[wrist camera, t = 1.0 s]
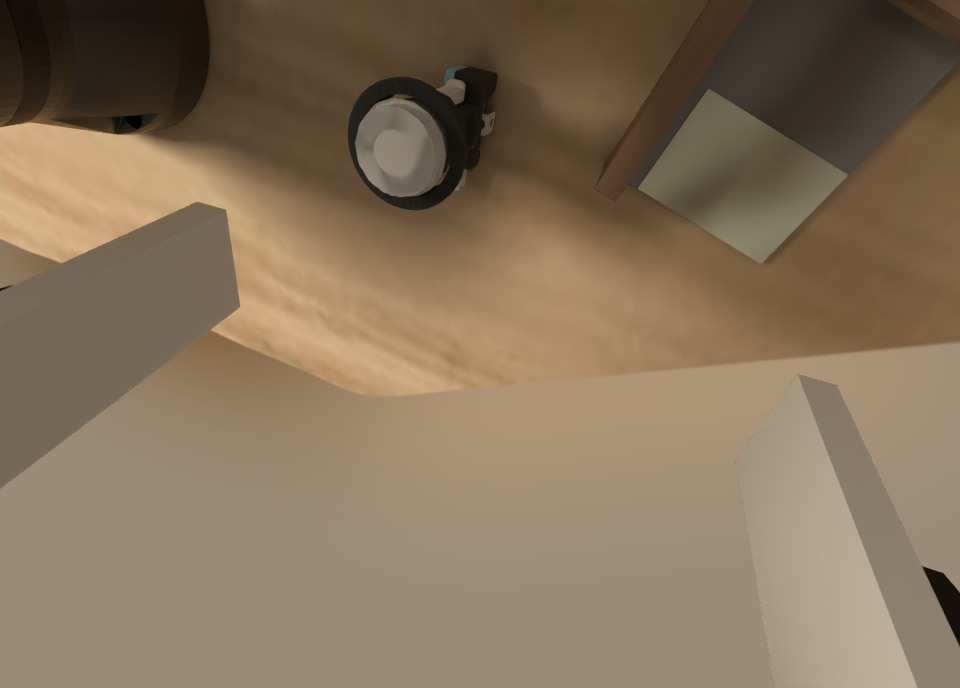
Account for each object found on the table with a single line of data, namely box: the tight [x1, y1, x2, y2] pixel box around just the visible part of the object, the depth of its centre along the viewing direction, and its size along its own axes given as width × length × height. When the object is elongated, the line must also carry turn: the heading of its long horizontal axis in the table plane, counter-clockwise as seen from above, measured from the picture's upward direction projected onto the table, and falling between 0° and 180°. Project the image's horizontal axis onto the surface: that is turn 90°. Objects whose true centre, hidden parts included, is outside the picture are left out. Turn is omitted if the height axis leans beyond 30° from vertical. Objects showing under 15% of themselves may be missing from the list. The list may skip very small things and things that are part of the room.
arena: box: [595, 0, 960, 264], centre depth 23 cm, size 10×13×4 cm
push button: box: [348, 65, 497, 210], centre depth 25 cm, size 7×5×10 cm
